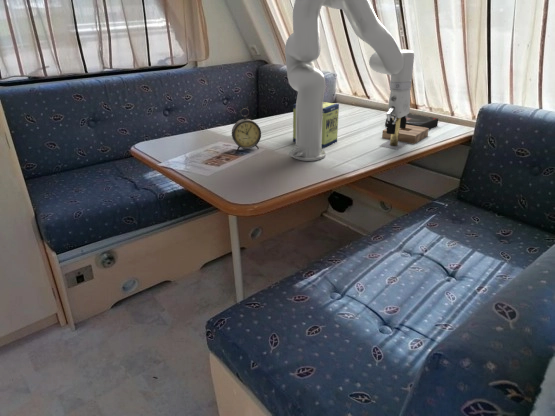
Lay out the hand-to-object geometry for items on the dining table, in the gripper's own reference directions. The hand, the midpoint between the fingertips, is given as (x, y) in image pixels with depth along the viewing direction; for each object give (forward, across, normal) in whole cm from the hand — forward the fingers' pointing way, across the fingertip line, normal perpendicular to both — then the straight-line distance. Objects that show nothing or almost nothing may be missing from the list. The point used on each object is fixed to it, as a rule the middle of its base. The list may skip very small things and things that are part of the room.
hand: (396, 130), depth 160 cm
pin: (+6, 0, 0) cm, 6 cm away
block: (+6, +13, +1) cm, 14 cm away
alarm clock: (+5, -38, +44) cm, 59 cm away
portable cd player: (+7, +31, +6) cm, 32 cm away
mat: (+6, 0, 0) cm, 6 cm away
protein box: (+6, -14, +28) cm, 32 cm away
